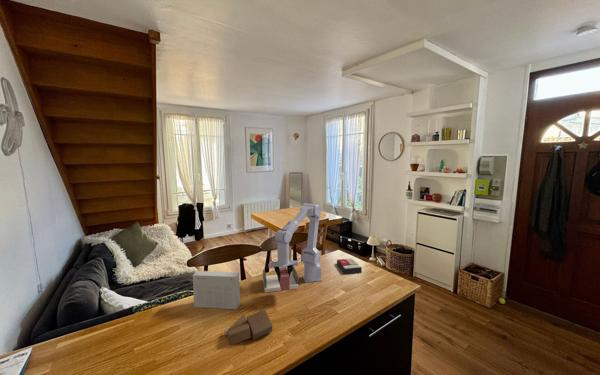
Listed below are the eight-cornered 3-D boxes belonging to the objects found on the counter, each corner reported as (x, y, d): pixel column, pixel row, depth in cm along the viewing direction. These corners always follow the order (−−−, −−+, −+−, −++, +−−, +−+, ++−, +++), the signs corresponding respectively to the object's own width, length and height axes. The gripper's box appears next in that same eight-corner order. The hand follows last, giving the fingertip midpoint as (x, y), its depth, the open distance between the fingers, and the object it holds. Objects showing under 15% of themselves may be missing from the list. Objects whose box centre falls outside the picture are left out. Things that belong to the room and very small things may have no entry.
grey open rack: (293, 276, 146) (293, 265, 146) (298, 288, 133) (298, 277, 132) (262, 279, 143) (262, 268, 142) (264, 292, 129) (264, 280, 128)
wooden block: (227, 333, 104) (268, 318, 109) (227, 353, 91) (274, 335, 97) (223, 316, 104) (265, 302, 109) (223, 333, 91) (271, 317, 96)
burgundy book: (286, 279, 130) (285, 266, 129) (289, 289, 120) (289, 276, 119) (278, 280, 129) (278, 267, 128) (281, 290, 119) (281, 277, 118)
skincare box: (240, 303, 120) (239, 272, 118) (236, 310, 115) (235, 277, 113) (199, 300, 122) (197, 270, 120) (193, 307, 117) (191, 275, 115)
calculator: (352, 257, 165) (361, 266, 150) (352, 264, 165) (361, 273, 150) (336, 259, 163) (344, 267, 148) (336, 265, 163) (344, 274, 148)
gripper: (269, 258, 117) (270, 285, 119) (299, 256, 120) (299, 282, 122) (267, 253, 124) (268, 278, 126) (296, 250, 127) (296, 275, 129)
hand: (283, 280), depth 124 cm, fingers closed on burgundy book, 4 cm apart
